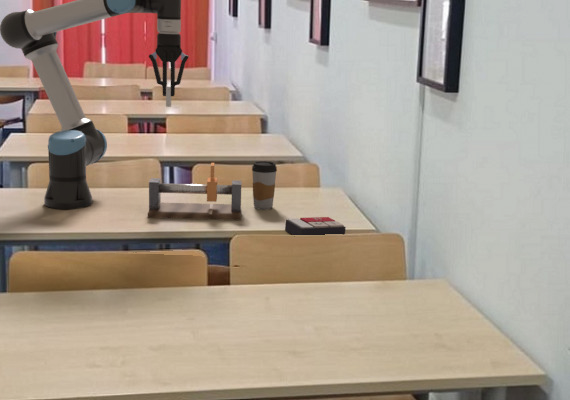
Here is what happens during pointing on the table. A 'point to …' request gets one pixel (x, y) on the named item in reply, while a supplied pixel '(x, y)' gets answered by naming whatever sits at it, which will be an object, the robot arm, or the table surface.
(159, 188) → the pipe
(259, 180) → the coffee cup
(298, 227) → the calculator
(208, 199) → the orange slotted block
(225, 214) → the base board
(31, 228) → the table surface
